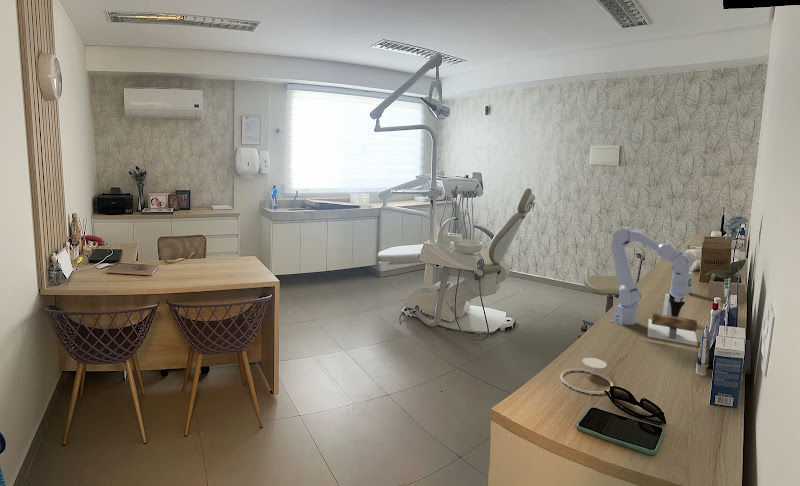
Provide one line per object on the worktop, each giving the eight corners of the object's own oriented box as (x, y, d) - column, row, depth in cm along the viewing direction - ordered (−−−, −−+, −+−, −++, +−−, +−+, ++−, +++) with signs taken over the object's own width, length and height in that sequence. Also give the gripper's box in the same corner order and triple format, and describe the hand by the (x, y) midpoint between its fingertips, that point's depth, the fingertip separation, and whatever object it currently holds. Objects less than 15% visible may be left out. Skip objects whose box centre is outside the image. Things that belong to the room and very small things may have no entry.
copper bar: (651, 323, 200) (653, 315, 200) (651, 321, 203) (653, 312, 202) (695, 331, 193) (697, 322, 192) (695, 329, 196) (696, 320, 195)
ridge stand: (697, 348, 189) (699, 336, 188) (647, 338, 198) (648, 327, 197) (693, 328, 210) (695, 318, 209) (648, 320, 218) (649, 310, 217)
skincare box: (674, 318, 223) (678, 294, 220) (679, 321, 218) (683, 297, 216) (661, 317, 223) (665, 293, 221) (665, 320, 219) (669, 296, 217)
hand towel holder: (553, 372, 156) (573, 352, 172) (552, 384, 157) (572, 363, 173) (607, 388, 146) (623, 365, 162) (605, 401, 147) (621, 377, 163)
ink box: (691, 293, 263) (694, 273, 261) (685, 294, 261) (688, 273, 259) (677, 289, 271) (680, 269, 269) (671, 290, 269) (674, 269, 267)
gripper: (691, 288, 187) (685, 320, 190) (689, 280, 200) (684, 310, 202) (671, 285, 191) (666, 317, 193) (670, 277, 203) (665, 307, 206)
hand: (674, 313), depth 198 cm, fingers open, 7 cm apart
